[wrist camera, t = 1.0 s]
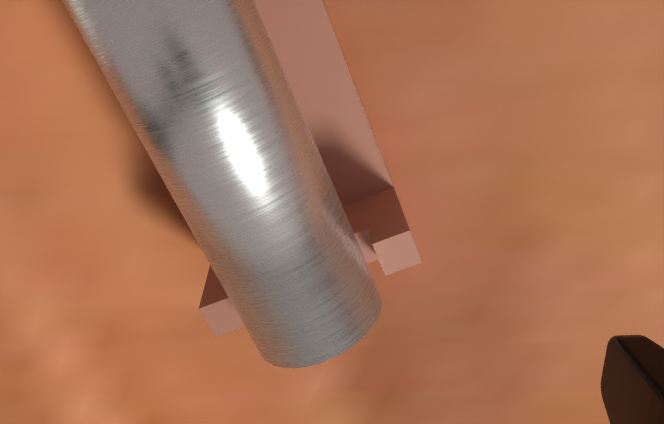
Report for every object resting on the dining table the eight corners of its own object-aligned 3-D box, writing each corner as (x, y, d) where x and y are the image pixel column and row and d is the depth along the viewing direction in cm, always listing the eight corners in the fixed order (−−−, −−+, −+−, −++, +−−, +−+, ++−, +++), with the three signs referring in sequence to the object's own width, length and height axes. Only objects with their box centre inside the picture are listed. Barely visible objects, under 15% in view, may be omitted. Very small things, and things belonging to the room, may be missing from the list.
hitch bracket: (-42, -233, 17) (-208, -314, 11) (188, -350, 16) (131, -498, 10) (244, 291, 24) (229, 396, 19) (409, 230, 23) (444, 320, 18)
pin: (-31, -240, 14) (-149, -302, 10) (126, -319, 13) (62, -414, 10) (262, 304, 20) (253, 386, 17) (373, 263, 20) (390, 338, 16)
